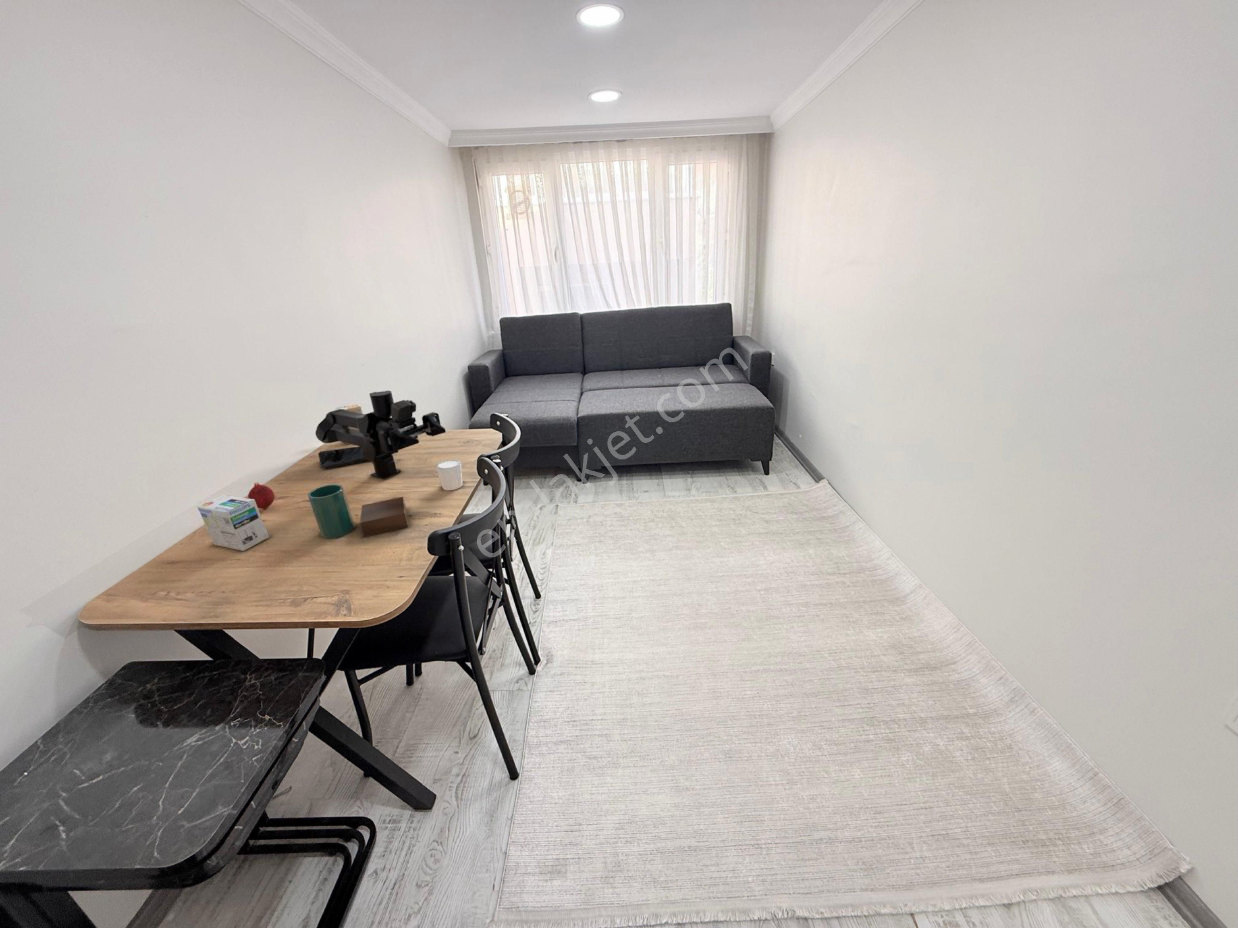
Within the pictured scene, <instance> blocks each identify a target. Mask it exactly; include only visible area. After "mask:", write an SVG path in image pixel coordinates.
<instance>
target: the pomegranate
mask: <svg viewBox="0 0 1238 928" xmlns="http://www.w3.org/2000/svg"><path fill="white" fill-rule="evenodd" d="M247 498H249V499H255V502H256V505H257V507H258V509H262V510H266V509H268V508H269V507H270V506H271V505H272V504H273V503H274V500H275V492H274V491H273V489H272V488H270V487H269V486H267V485H265V484H260V483H259V482H258V481H254V484H253V487H252V488H250V490H249V492H248V494H247Z"/></svg>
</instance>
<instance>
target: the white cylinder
mask: <svg viewBox="0 0 1238 928" xmlns="http://www.w3.org/2000/svg"><path fill="white" fill-rule="evenodd" d="M435 467H436V471H437V475H438V478H439V481H440V483H441V487H442V490H445V491H454V490H457V489H460V488H461V487H463V485H464V484H463V471H462V462H461V460H458V459H448V460H443V461H440V462H438V463H437V464H435Z"/></svg>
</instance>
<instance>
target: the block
mask: <svg viewBox="0 0 1238 928" xmlns="http://www.w3.org/2000/svg"><path fill="white" fill-rule="evenodd" d="M359 524H360V529H361V531H362V534H363V538H367V537H370V536H375V535H379V534H384V533H388V532H391V531H398V530H401V529H406V528H409V522H408V510H407V505H406V501H405V497H404V496H401V497H396V498H390V499H386V500H380V501H376V502H371V503H365V504H362V505H361V510H360V520H359Z"/></svg>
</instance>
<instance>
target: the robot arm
mask: <svg viewBox="0 0 1238 928" xmlns="http://www.w3.org/2000/svg"><path fill="white" fill-rule="evenodd" d="M393 397H394V396H393V393H392V390H383V391H373V392H370V393H369V398H370V402H371V406H372V410H373V411H371V412H368V413H363V414H361V413H356V412H351V411H345V410H344V409H338V410H331V411H329V412H327V413H326V415H325V418H323V419H322V420H321V421H320V422H319V423H318V424H317V426H316V429H315V436H316V439H317V440H318V441H320V442H321V443H322V444H332V443H337V442H339V443H345V444H346V443H348V444H347V445H353V446H355V447H358V446H360V447H365V449H364V451H363V453H362V454H363V456H364V458H365V460H367V461H369V462H372V465H373V469H374V472H372V473H371V474H370V476H371V477H373V478H377V479H381V480H386V479H389V478H391V477H393V476H396V475H398V474H401V472H402V470H401V469H398V468H397V466H396V465H397V464H396V462H395V459H394V454H397V453H399V451H401V450H403V449H406V448H409V447H412V446H415V445H418V444H419V443H420V440H419V436H421V435H423V434H425V435H426V436H429V437H436V436H438V435H441V434H445V433H446V428H445V427H444V426H443V425H441V419H440V415H439V413H438V412H435V411H434V412H433V411H432V412H429V413H426V414H423V415H422V416H421V421H422V424H420V425H417V424H416V422H417V420H416V417H414V416H413V413H415V412H417V403H416V402H414V401H413V400H411V399H410V400H409V399H406V400H405V399H403V400H399V401H396V402H394V398H393ZM348 427H353V428H357V429H359V430H355V429H350V428H348Z"/></svg>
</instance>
